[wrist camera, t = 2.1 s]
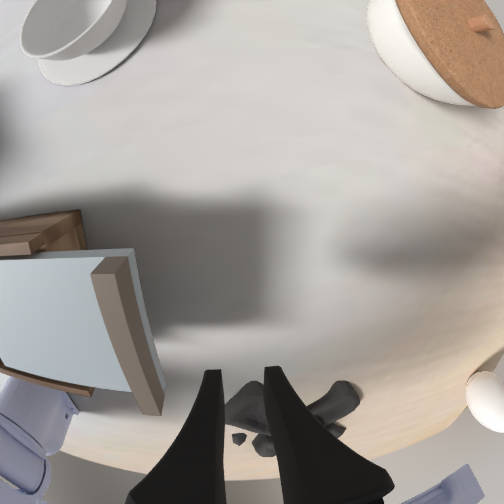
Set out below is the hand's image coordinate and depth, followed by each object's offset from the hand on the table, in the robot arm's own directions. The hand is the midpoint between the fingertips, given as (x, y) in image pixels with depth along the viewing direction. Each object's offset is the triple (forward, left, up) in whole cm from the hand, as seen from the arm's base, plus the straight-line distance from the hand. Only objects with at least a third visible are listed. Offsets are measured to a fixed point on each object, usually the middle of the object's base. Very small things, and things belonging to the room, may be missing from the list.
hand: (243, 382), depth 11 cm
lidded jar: (+19, -13, -10) cm, 25 cm away
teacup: (+20, +10, -10) cm, 24 cm away
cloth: (-22, -6, -10) cm, 25 cm away
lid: (0, +13, -4) cm, 13 cm away
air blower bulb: (-24, -42, -10) cm, 49 cm away
